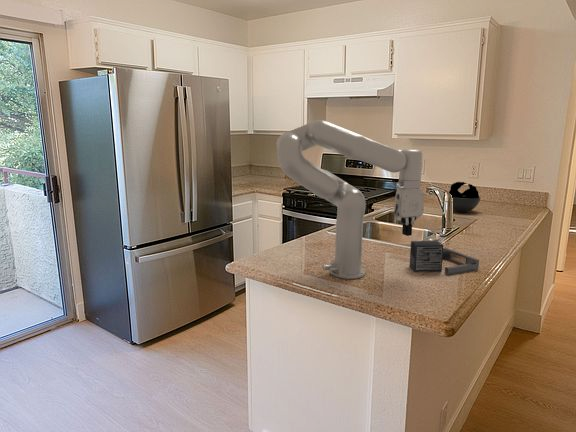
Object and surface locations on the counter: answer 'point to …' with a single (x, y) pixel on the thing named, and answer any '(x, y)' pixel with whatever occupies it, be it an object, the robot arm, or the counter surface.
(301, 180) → the robot arm
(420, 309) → the counter surface
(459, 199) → the coal bowl
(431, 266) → the small box
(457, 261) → the rack bay
